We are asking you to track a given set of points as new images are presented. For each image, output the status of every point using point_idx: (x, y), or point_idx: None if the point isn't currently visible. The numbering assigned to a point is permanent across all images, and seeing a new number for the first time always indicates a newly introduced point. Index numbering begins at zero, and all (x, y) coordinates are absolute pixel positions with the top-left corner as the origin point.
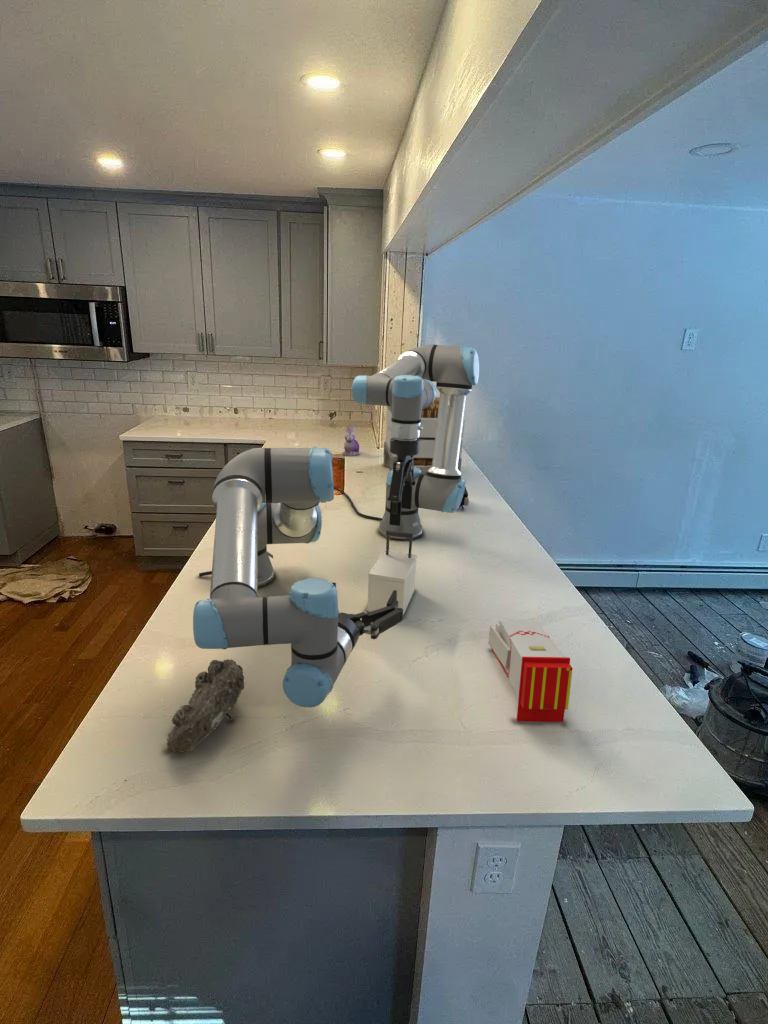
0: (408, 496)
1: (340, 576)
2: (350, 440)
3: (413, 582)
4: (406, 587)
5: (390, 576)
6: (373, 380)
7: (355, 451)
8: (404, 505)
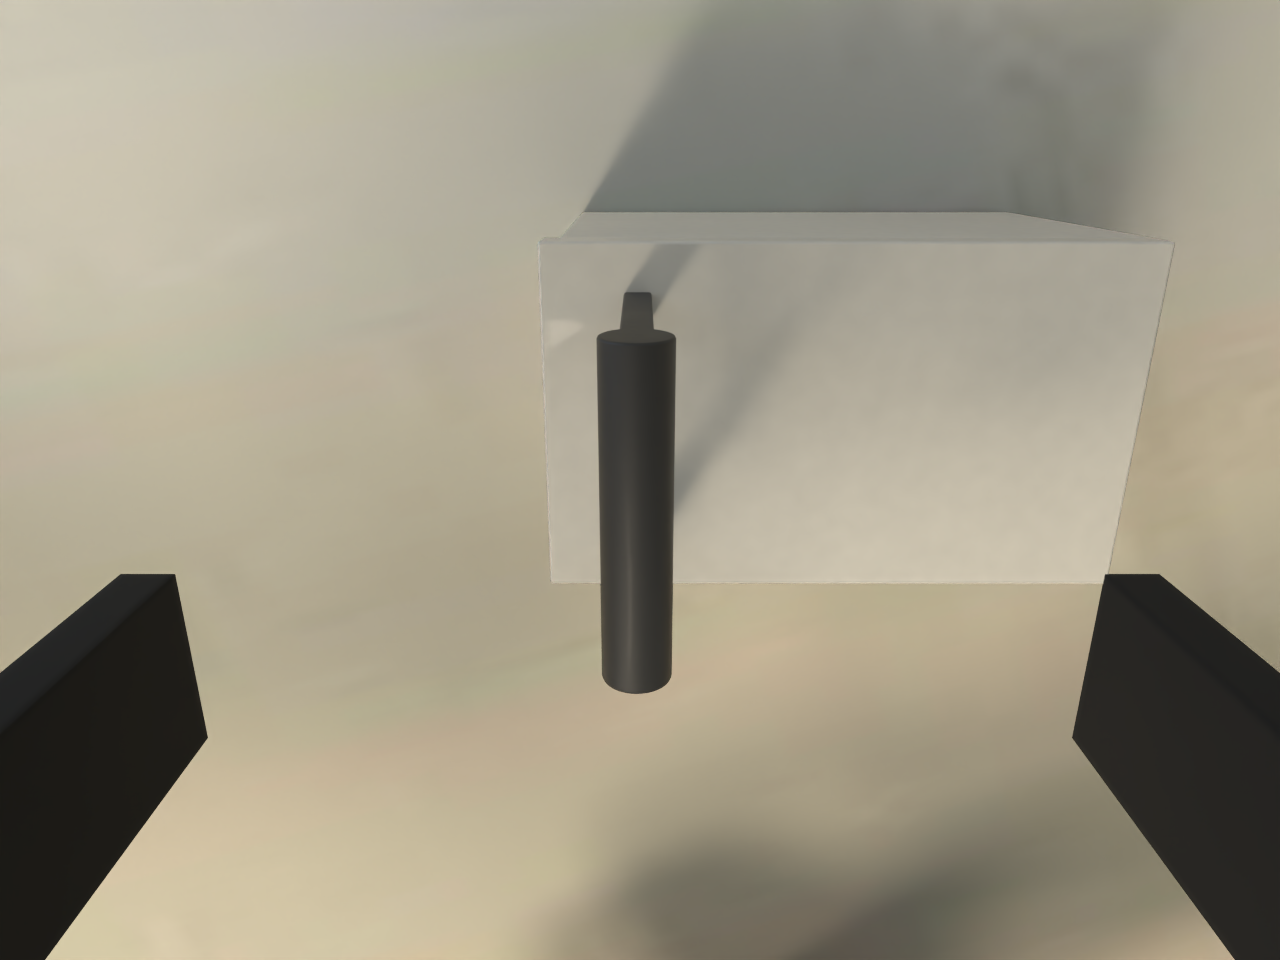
0: (15, 799)
1: (555, 733)
2: None
3: (646, 219)
4: (1003, 228)
5: (1135, 390)
6: None
7: None
8: (167, 719)
